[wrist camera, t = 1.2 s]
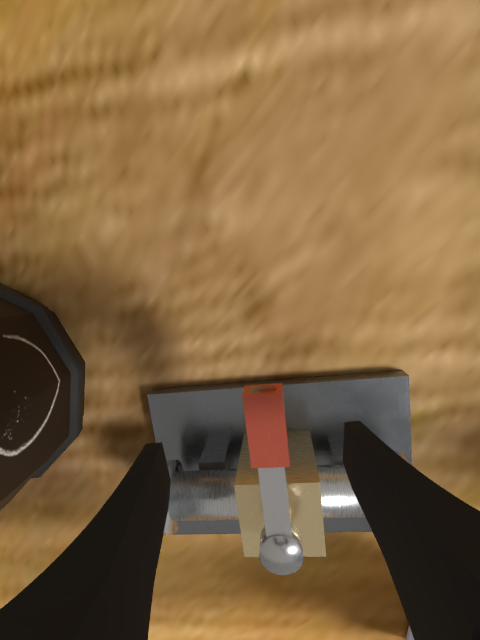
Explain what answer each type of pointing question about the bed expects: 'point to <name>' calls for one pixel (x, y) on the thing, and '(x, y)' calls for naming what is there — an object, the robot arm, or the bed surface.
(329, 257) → the bed surface
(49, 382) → the black drum container
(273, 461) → the valve lever
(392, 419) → the valve assembly
